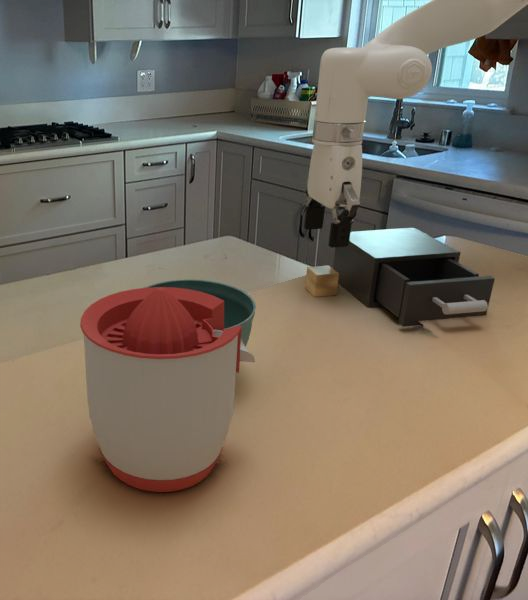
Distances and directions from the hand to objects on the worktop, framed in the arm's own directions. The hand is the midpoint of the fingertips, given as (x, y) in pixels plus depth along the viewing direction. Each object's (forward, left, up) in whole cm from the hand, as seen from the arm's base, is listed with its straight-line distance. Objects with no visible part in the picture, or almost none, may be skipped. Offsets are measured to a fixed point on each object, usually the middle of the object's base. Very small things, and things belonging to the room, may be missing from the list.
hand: (325, 237), depth 103 cm
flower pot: (+29, +24, -10) cm, 39 cm away
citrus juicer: (+35, +40, -10) cm, 54 cm away
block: (0, 0, -10) cm, 10 cm away
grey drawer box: (-12, +1, -10) cm, 16 cm away
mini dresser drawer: (-12, +13, -9) cm, 20 cm away
